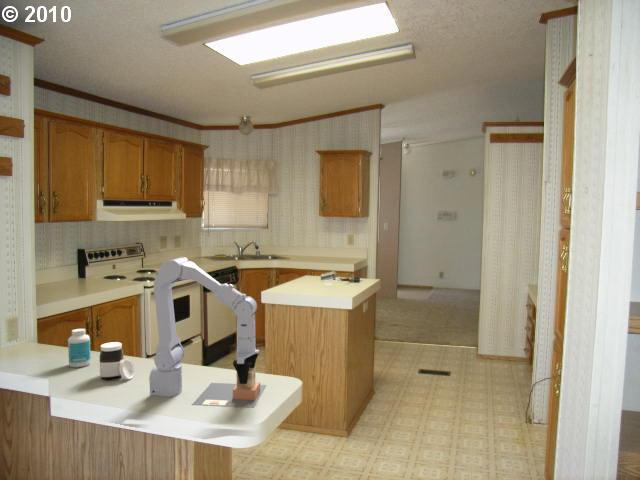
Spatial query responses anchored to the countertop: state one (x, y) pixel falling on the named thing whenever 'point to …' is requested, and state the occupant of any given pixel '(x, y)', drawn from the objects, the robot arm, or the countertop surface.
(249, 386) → the oak cube
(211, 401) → the grey square mat
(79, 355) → the pill bottle
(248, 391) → the terracotta slab
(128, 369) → the spread jar
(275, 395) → the countertop surface
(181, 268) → the robot arm
